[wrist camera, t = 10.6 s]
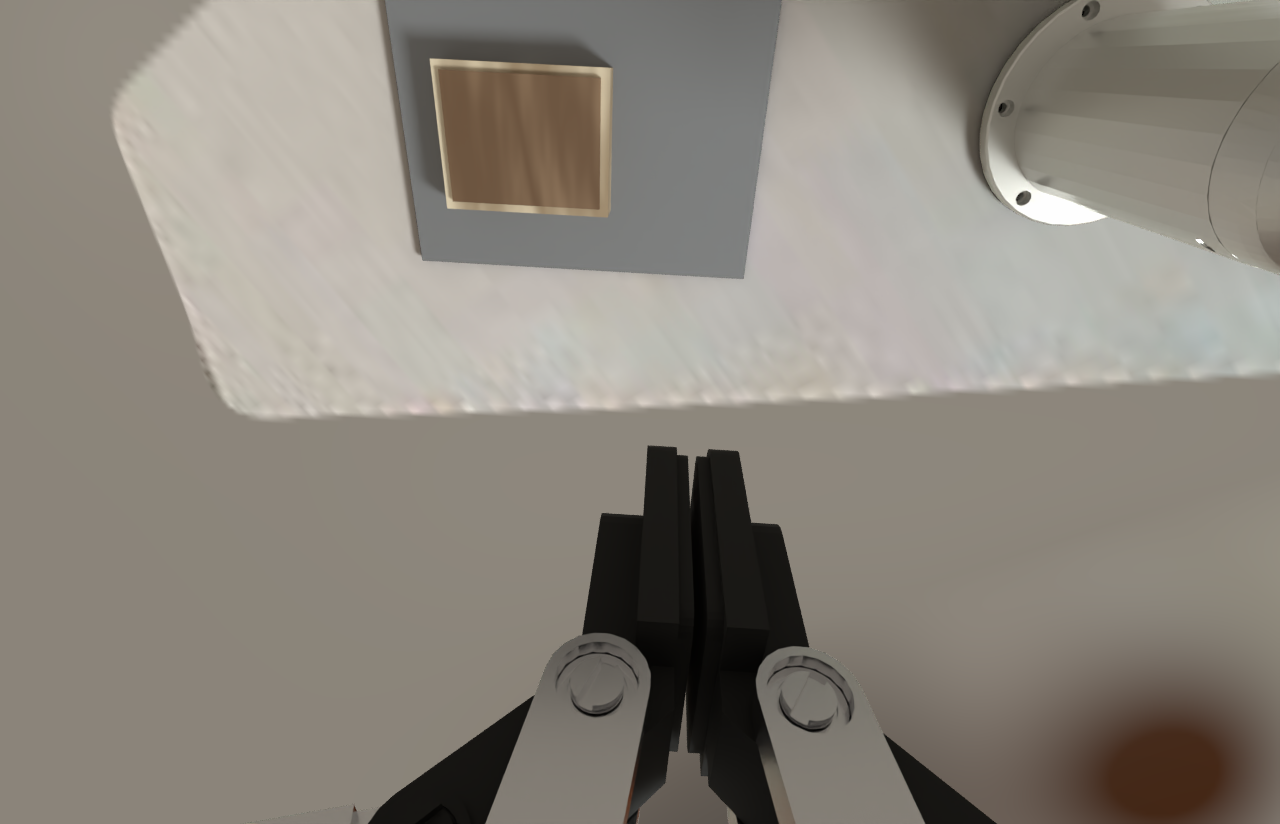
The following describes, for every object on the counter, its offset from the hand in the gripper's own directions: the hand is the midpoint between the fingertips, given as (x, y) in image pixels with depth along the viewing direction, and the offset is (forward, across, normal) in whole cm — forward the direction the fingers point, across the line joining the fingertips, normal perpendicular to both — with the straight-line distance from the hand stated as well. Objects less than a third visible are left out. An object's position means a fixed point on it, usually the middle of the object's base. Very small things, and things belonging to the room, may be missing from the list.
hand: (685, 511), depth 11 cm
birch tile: (+30, +4, -3) cm, 30 cm away
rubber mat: (+31, +6, -3) cm, 32 cm away
